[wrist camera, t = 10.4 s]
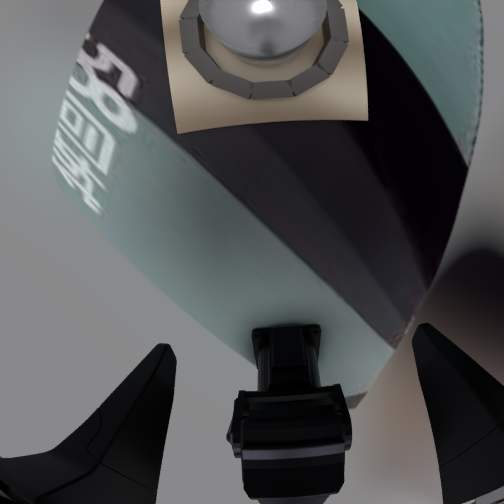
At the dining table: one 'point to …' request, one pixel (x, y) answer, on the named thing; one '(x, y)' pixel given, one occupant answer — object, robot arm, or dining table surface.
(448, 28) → the dining table surface
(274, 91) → the ring seat
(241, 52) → the cylinder
